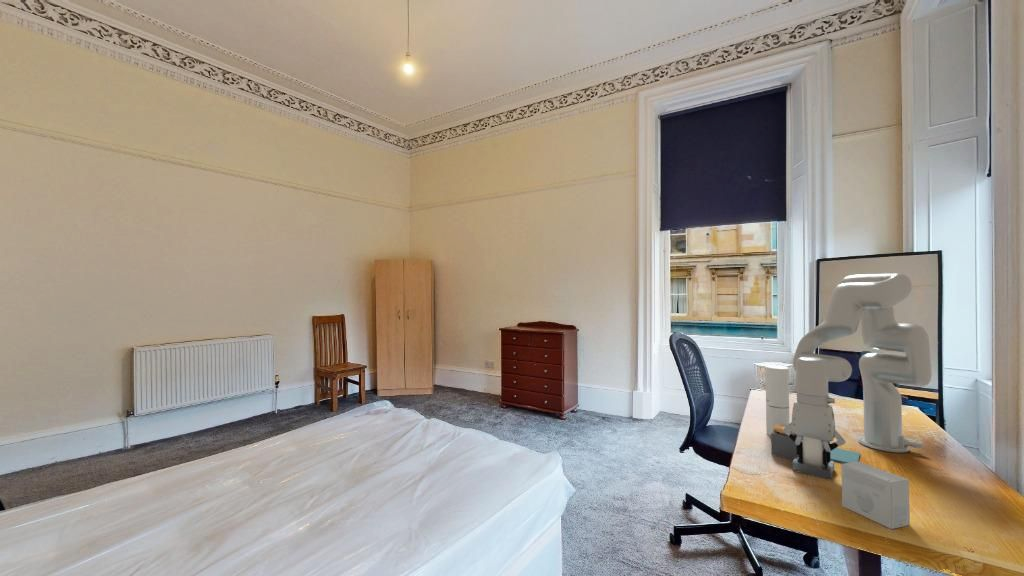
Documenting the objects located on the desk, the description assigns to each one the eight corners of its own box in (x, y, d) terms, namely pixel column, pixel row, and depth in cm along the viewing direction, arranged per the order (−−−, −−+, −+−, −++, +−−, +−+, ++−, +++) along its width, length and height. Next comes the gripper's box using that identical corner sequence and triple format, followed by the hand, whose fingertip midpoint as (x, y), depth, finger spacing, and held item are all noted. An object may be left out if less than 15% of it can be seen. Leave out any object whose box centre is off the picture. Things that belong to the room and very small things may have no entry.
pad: (860, 454, 127) (860, 452, 127) (857, 466, 118) (857, 464, 118) (806, 443, 137) (806, 441, 137) (800, 453, 128) (800, 451, 128)
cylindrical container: (782, 431, 149) (781, 365, 149) (794, 438, 141) (792, 369, 142) (762, 430, 149) (761, 365, 150) (773, 437, 142) (772, 368, 142)
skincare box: (911, 525, 89) (910, 478, 89) (892, 530, 87) (891, 482, 87) (859, 501, 99) (858, 459, 99) (840, 505, 97) (839, 463, 97)
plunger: (801, 443, 128) (801, 427, 128) (797, 449, 123) (797, 433, 123) (776, 437, 133) (776, 422, 133) (771, 443, 128) (771, 427, 128)
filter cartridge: (825, 470, 116) (825, 432, 116) (823, 476, 113) (822, 437, 113) (804, 464, 120) (803, 428, 120) (801, 470, 116) (800, 433, 116)
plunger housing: (801, 454, 128) (801, 432, 128) (797, 460, 123) (797, 438, 123) (776, 448, 133) (776, 427, 133) (771, 454, 128) (771, 432, 128)
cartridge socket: (834, 469, 116) (834, 461, 116) (830, 480, 110) (830, 471, 110) (798, 461, 123) (798, 453, 123) (792, 470, 116) (792, 461, 116)
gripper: (851, 402, 113) (852, 465, 113) (780, 392, 125) (781, 449, 125) (848, 407, 108) (849, 474, 108) (775, 396, 120) (776, 456, 120)
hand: (813, 460), depth 116 cm, fingers closed on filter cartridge, 5 cm apart
